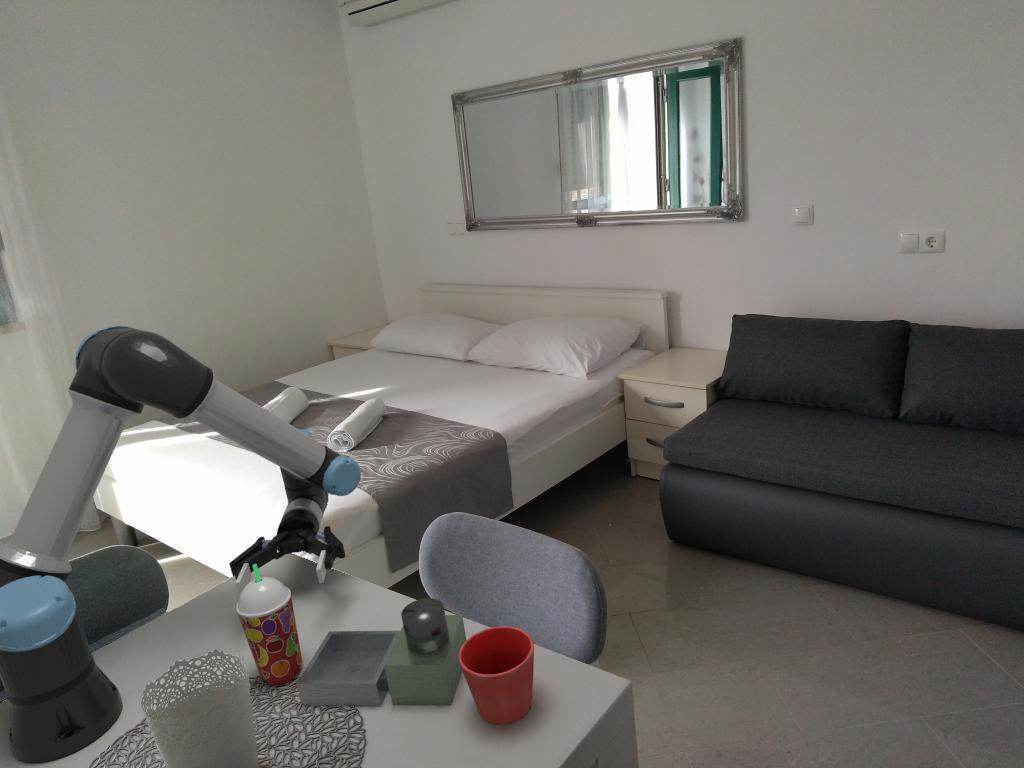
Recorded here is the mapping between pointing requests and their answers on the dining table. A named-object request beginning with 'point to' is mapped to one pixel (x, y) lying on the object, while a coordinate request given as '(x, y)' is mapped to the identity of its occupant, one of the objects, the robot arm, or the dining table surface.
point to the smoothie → (270, 628)
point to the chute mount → (389, 662)
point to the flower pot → (499, 672)
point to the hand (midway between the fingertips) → (279, 583)
